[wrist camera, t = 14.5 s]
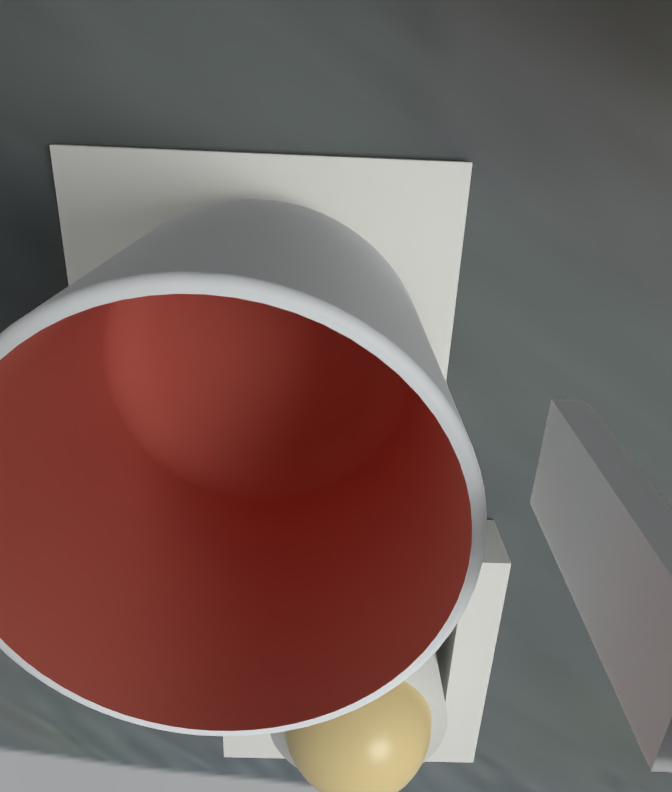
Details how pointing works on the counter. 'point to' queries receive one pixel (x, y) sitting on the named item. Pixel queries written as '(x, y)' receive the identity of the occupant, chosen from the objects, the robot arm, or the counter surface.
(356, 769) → the dome
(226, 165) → the pad
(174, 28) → the counter surface
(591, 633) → the robot arm
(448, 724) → the dome base
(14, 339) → the cup
